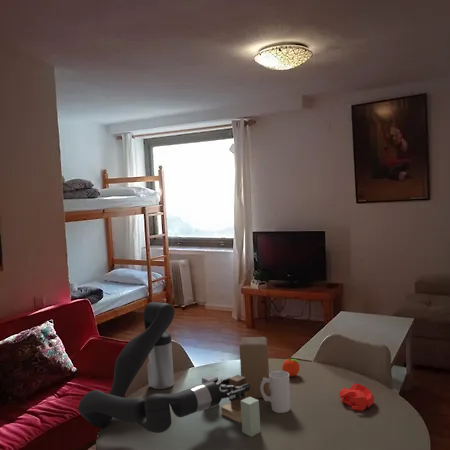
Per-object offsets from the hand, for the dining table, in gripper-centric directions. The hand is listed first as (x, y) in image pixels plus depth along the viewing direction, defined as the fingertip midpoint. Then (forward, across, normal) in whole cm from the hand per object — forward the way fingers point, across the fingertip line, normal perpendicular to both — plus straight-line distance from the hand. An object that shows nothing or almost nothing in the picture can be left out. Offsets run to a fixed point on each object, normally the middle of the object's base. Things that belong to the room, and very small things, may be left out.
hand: (240, 383), depth 153 cm
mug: (+11, +6, -10) cm, 16 cm away
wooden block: (+15, -8, -10) cm, 20 cm away
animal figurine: (+34, +22, -10) cm, 42 cm away
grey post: (-2, -13, -10) cm, 17 cm away
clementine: (+37, -9, -9) cm, 39 cm away
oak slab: (0, -1, -11) cm, 11 cm away
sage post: (-6, +11, -11) cm, 16 cm away
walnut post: (-1, 0, -8) cm, 8 cm away
